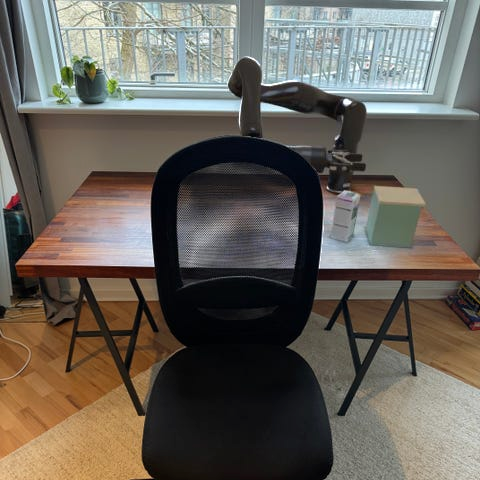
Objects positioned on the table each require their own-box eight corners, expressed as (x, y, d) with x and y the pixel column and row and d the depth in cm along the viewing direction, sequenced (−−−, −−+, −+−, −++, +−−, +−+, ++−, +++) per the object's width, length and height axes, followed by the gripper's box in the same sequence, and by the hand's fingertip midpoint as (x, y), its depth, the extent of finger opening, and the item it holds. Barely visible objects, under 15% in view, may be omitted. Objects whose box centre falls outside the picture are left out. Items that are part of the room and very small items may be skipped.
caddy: (403, 230, 153) (413, 190, 145) (410, 247, 143) (422, 206, 135) (365, 227, 154) (373, 188, 146) (370, 245, 144) (379, 203, 136)
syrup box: (347, 242, 145) (355, 199, 136) (329, 237, 147) (336, 194, 139) (353, 236, 149) (361, 193, 140) (336, 231, 151) (343, 189, 143)
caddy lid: (416, 190, 145) (416, 188, 145) (425, 206, 135) (425, 204, 135) (373, 188, 146) (374, 185, 145) (379, 203, 136) (380, 201, 135)
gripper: (306, 164, 143) (358, 167, 142) (307, 180, 132) (364, 183, 131) (309, 139, 139) (363, 142, 138) (310, 153, 127) (369, 157, 126)
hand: (363, 162), depth 134 cm, fingers open, 8 cm apart
